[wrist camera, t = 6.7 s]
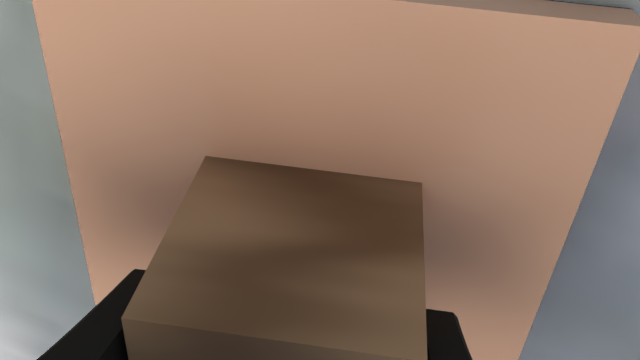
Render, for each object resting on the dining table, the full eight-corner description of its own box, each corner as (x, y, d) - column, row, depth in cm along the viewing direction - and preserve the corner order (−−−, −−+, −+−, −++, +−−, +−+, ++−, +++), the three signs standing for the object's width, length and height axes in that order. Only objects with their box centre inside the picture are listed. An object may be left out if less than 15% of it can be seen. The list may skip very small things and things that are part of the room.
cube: (421, 182, 14) (427, 361, 10) (391, 331, 16) (386, 518, 12) (205, 155, 14) (121, 317, 10) (213, 306, 17) (149, 480, 13)
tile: (633, 9, 12) (649, 27, 11) (492, 386, 19) (496, 414, 18) (48, -52, 13) (23, -39, 12) (119, 332, 20) (106, 357, 19)
